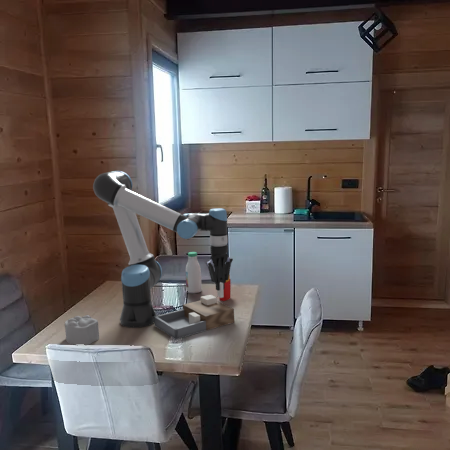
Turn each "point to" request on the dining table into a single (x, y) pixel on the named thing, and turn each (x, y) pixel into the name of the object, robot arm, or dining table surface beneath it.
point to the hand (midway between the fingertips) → (220, 296)
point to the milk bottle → (193, 274)
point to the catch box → (178, 324)
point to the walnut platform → (211, 313)
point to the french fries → (226, 290)
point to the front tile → (193, 318)
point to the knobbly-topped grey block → (81, 330)
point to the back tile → (208, 299)
